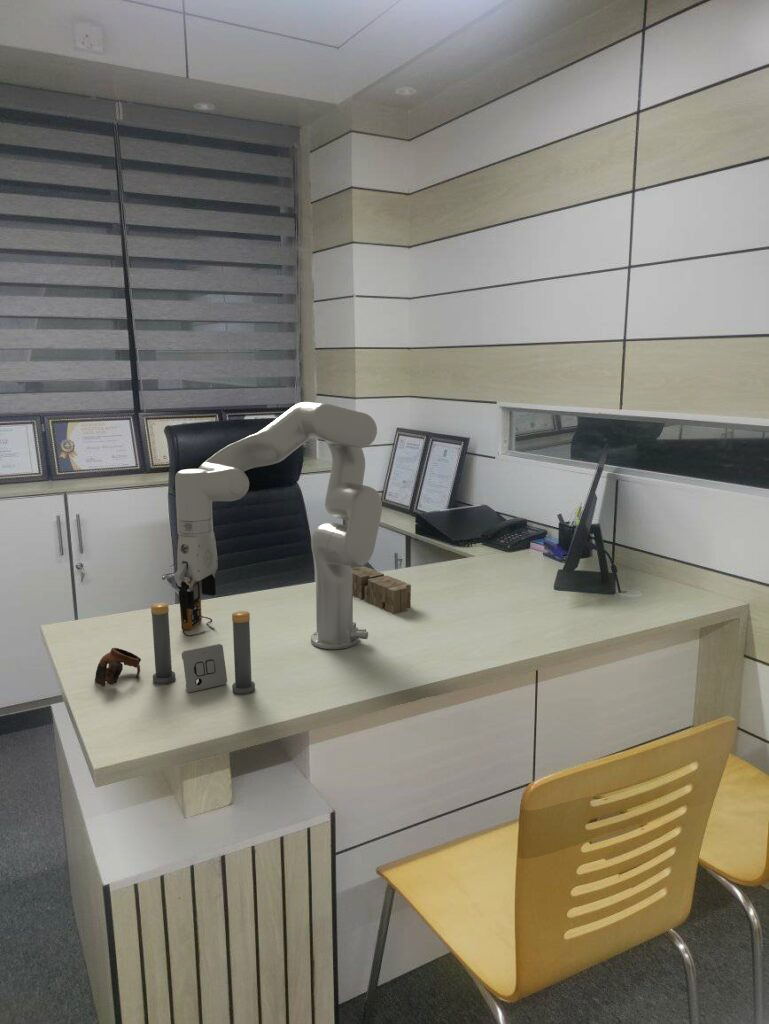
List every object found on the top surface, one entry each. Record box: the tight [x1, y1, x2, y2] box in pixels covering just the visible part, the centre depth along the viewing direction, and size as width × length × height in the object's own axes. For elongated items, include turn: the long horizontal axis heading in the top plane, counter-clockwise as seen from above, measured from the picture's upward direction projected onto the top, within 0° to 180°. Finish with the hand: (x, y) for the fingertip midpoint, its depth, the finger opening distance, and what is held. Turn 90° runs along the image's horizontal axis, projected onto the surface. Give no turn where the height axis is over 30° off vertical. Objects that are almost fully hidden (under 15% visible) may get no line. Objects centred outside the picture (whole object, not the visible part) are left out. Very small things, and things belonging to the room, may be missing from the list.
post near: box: [231, 610, 256, 696], centre depth 164 cm, size 5×5×18 cm
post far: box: [150, 602, 176, 686], centre depth 169 cm, size 5×5×18 cm
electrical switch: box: [181, 643, 228, 693], centre depth 168 cm, size 9×5×9 cm, turn 121°
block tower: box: [351, 565, 412, 615], centre depth 228 cm, size 8×8×29 cm
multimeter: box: [179, 576, 218, 637], centre depth 202 cm, size 15×10×20 cm
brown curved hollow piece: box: [94, 647, 142, 687], centre depth 170 cm, size 12×10×8 cm
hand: (198, 601), depth 164 cm, fingers open, 9 cm apart
